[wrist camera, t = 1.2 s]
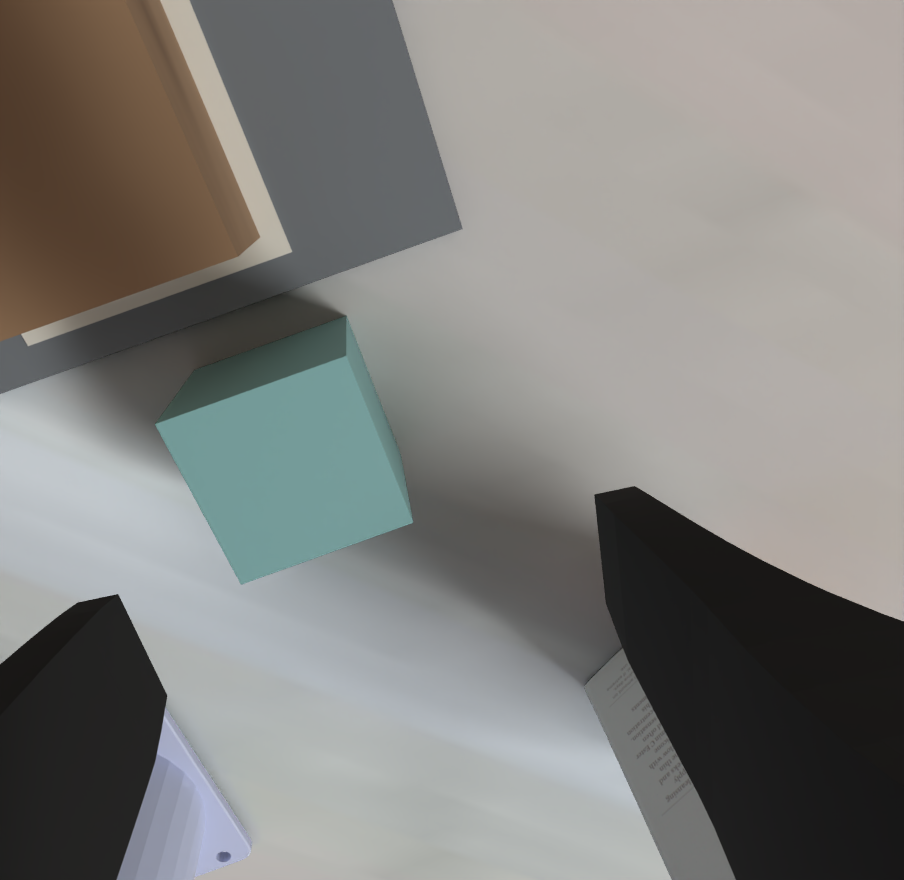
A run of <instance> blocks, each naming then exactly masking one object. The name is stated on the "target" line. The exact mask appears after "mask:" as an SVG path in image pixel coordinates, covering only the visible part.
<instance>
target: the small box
mask: <svg viewBox="0 0 904 880" xmlns="http://www.w3.org/2000/svg"><path fill="white" fill-rule="evenodd" d="M585 691H586V693H587V695H588V697H589V699H590V701H591V704H592V706H593V708H594V710H595V712H596V714H597V716H598V719H599V721H600V723H601V725H602V727H603V729H604V732H605V734H606V736H607V738H608V740H609V743H610V745H611V747H612V749H613V751H614V753H615V756H616V758H617V760H618V762H619V764H620V767H621V769H622V771H623V773H624V775H625V778H626V780H627V782H628V784H629V786H630V789H631V791H632V793H633V795H634V797H635V800H636V802H637V804H638V806H639V808H640V811H641V813H642V815H643V817H644V819H645V822H646V824H647V826H648V828H649V831H650V833H651V835H652V837H653V840H654V842H655V844H656V846H657V848H658V850H659V853H660V855H661V857H662V859H663V861H664V864H665V866H666V868H667V870H668V872H669V875H670V877H671V879H672V880H736V879H735V877H734V874H733V872H732V869H731V867H730V865H729V862H728V860H727V857H726V855H725V853H724V850H723V848H722V845H721V843H720V841H719V838H718V836H717V833H716V831H715V829H714V826H713V824H712V822H711V820H710V818H709V816H708V814H707V812H706V810H705V808H704V805H703V803H702V801H701V799H700V797H699V795H698V793H697V791H696V789H695V787H694V785H693V784H692V782H691V780H690V778H689V776H688V774H687V772H686V770H685V768H684V767H683V765H682V763H681V761H680V759H679V757H678V755H677V753H676V752H675V750H674V748H673V746H672V744H671V742H670V740H669V738H668V736H667V735H666V733H665V731H664V729H663V727H662V725H661V723H660V721H659V719H658V718H657V716H656V714H655V712H654V710H653V708H652V706H651V704H650V702H649V701H648V699H647V697H646V695H645V693H644V691H643V689H642V687H641V685H640V683H639V681H638V680H637V678H636V676H635V674H634V672H633V670H632V668H631V666H630V664H629V662H628V660H627V657H626V655H625V652H624V650H623V648H622V649H621V650H620V651H619V652H618V653H616V654H615V655H614V656H613V657H612V658H611V659H610V660H609V661H608V662H607V663H606V664H605V665H604V666H603V667H602V668H601V669H600V670H599V671H598V672H597V673H596V674H595V675H594V676H593V677H592V678H591V679H590V680H589V681H588V682H587V684H586V685H585Z"/></svg>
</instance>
